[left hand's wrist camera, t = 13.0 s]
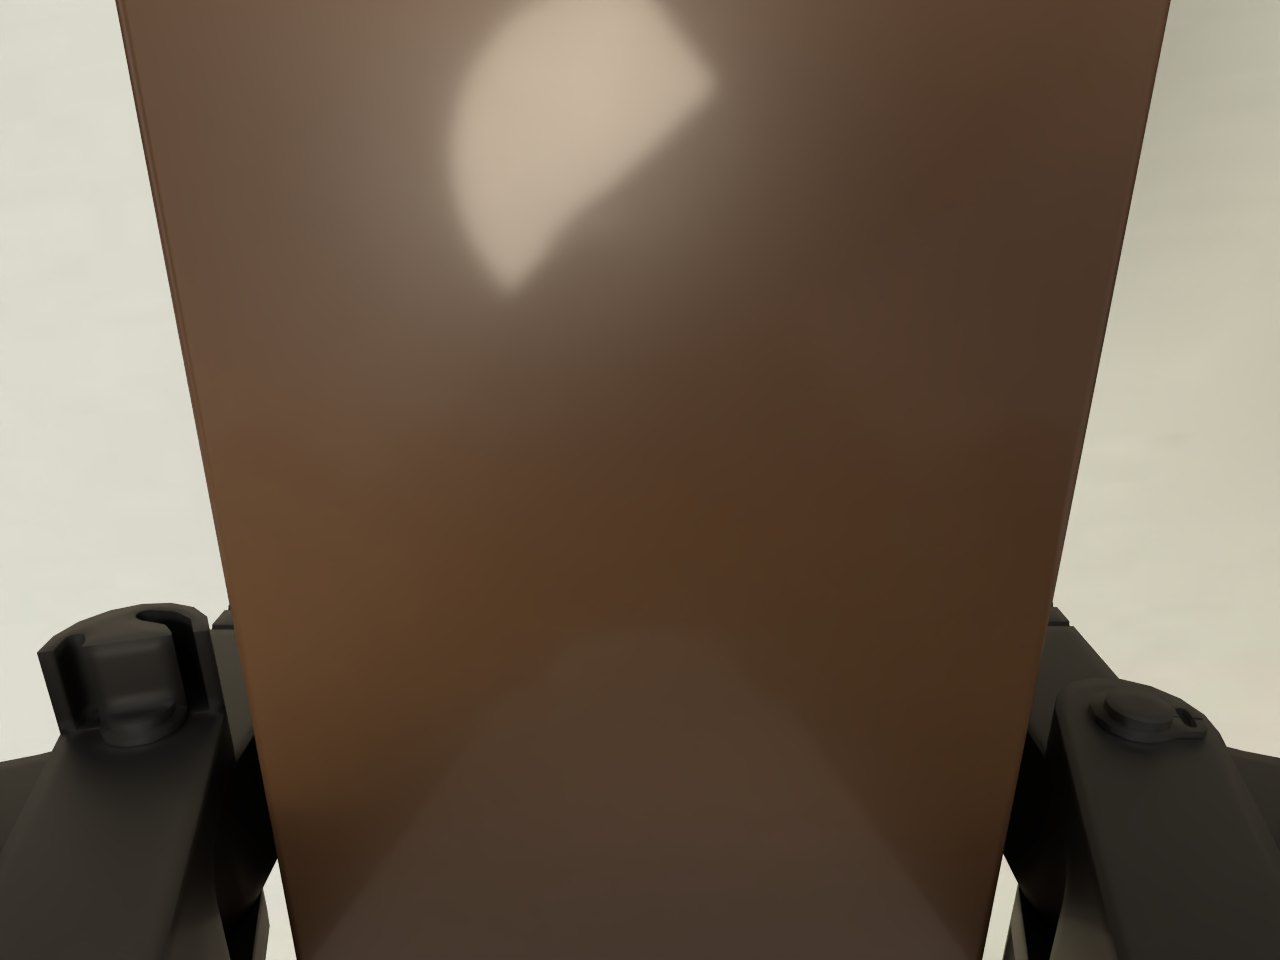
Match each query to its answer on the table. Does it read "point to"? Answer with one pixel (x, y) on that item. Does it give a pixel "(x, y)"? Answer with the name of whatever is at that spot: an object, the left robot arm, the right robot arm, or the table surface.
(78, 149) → the table surface
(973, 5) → the beam
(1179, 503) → the table surface
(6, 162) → the table surface
